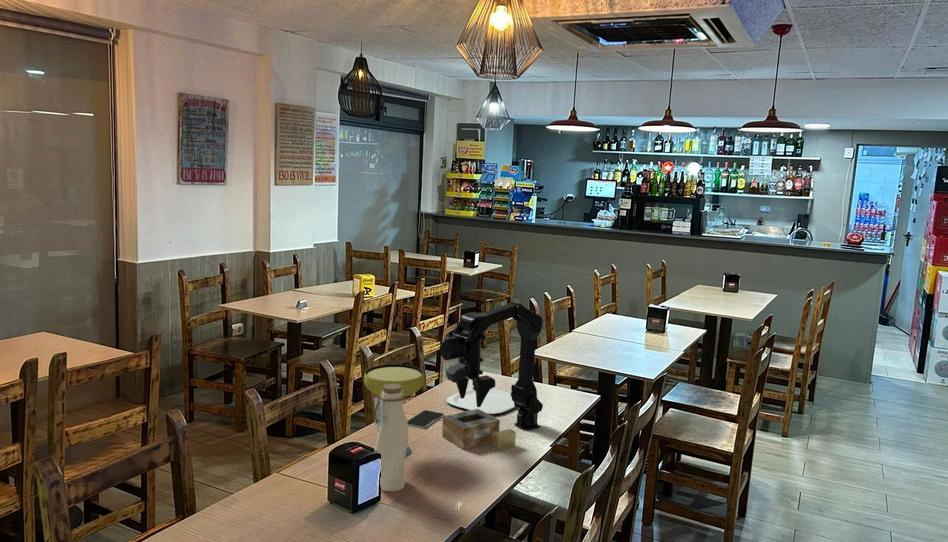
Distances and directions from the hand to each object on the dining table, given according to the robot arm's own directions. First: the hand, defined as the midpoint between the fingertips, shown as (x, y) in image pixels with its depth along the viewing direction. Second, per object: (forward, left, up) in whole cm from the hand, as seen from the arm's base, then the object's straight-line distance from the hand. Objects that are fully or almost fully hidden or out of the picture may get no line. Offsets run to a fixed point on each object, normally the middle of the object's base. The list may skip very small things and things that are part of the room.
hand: (470, 402), depth 212 cm
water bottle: (+35, +13, -14) cm, 40 cm away
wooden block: (-8, +8, -14) cm, 18 cm away
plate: (-28, -29, -14) cm, 43 cm away
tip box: (-3, -3, -14) cm, 14 cm away
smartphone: (+1, -25, -14) cm, 29 cm away
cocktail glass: (+23, -7, -14) cm, 28 cm away
